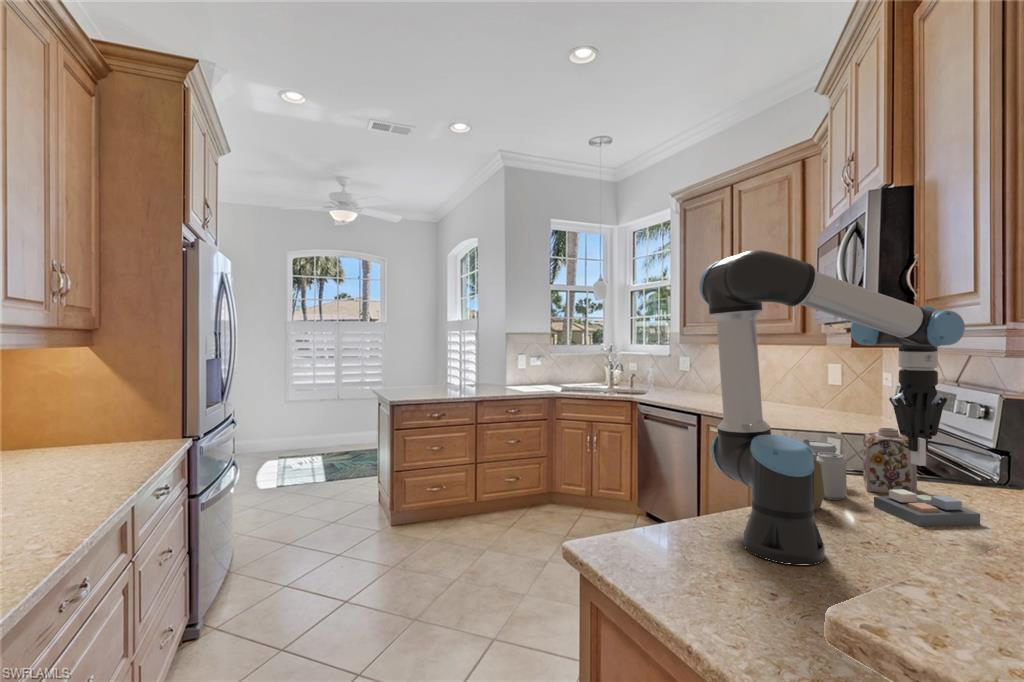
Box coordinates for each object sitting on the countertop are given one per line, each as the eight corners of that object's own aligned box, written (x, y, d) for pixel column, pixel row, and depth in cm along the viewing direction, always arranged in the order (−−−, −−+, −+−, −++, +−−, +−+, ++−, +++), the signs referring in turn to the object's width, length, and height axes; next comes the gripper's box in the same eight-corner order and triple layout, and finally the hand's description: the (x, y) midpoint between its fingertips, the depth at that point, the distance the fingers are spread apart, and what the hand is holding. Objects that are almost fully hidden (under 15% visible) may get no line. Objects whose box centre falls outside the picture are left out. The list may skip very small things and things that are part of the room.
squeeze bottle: (783, 501, 136) (782, 436, 136) (813, 501, 136) (812, 436, 136) (800, 512, 128) (799, 442, 128) (831, 512, 127) (830, 442, 127)
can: (851, 501, 136) (851, 457, 136) (821, 499, 137) (821, 456, 137) (839, 493, 143) (839, 451, 143) (811, 491, 144) (810, 450, 144)
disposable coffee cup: (837, 480, 156) (836, 442, 156) (837, 488, 148) (837, 447, 148) (802, 476, 161) (801, 439, 161) (800, 483, 153) (800, 444, 153)
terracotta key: (922, 521, 119) (921, 508, 119) (908, 515, 123) (908, 503, 123) (938, 521, 119) (937, 508, 119) (923, 515, 123) (923, 502, 123)
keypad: (919, 526, 117) (918, 515, 117) (873, 506, 131) (873, 496, 131) (980, 524, 118) (980, 513, 118) (928, 505, 132) (928, 495, 132)
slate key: (946, 514, 119) (945, 501, 119) (931, 508, 123) (931, 496, 123) (962, 514, 120) (961, 501, 120) (946, 508, 124) (946, 496, 124)
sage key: (924, 512, 125) (924, 499, 125) (911, 507, 129) (911, 495, 129) (939, 511, 126) (939, 499, 126) (926, 506, 130) (926, 494, 130)
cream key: (901, 506, 125) (901, 494, 125) (889, 501, 129) (888, 489, 129) (916, 506, 125) (916, 494, 125) (903, 501, 129) (903, 489, 129)
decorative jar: (917, 498, 138) (916, 433, 138) (866, 491, 144) (865, 430, 144) (910, 487, 148) (910, 427, 148) (863, 481, 154) (862, 423, 154)
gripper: (904, 370, 118) (904, 468, 118) (957, 369, 118) (958, 468, 118) (880, 368, 126) (880, 460, 126) (930, 368, 126) (930, 460, 126)
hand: (918, 464), depth 122 cm, fingers closed
